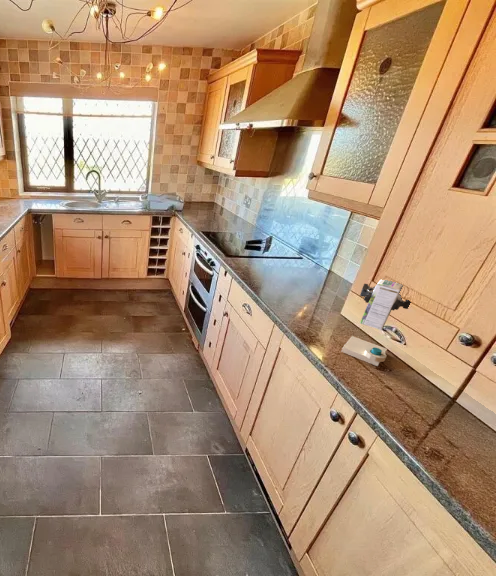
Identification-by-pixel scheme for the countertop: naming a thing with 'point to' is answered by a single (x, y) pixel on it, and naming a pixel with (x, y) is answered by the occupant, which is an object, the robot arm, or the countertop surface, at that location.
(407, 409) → the countertop surface
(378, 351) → the tare button
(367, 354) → the scale
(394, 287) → the syrup box
